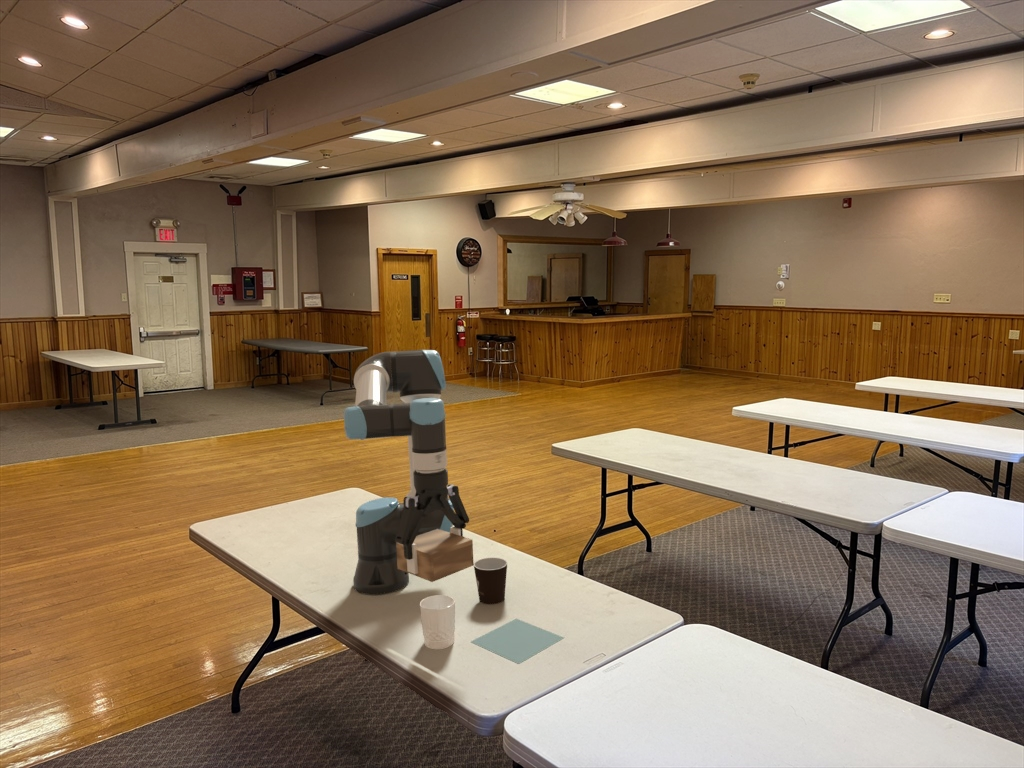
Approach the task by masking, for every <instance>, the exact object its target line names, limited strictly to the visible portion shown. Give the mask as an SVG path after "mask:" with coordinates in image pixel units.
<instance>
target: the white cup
mask: <svg viewBox="0 0 1024 768" xmlns="http://www.w3.org/2000/svg"><path fill="white" fill-rule="evenodd" d="M419 610H420V611H419V612H420V620H421V621H420V622H421V628H422V629H421V630H422V637H423V643H424V646H425V647H426V648H428V649H432V650H442V649H447V648H450V647H451V646H452V645H453V644H454V643H455V631H456V630H455V629H456V600H455V599H454V598H453V597H452V596H449V595H446V594H445V595H444V594H437V595H430V596H427V597H425V598H423V599H421V601H420V602H419Z"/></svg>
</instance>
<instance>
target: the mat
mask: <svg viewBox="0 0 1024 768" xmlns="http://www.w3.org/2000/svg"><path fill="white" fill-rule="evenodd" d="M563 639H565V637H564V636H561V635H559V634H556V633H553V632H551V631H548V630H546V629H543V628H541V627H538V626H536V625H533V624H531V623H528V622H525V621H523V620H521V619H519V618H515V619H512V620H510V621H508V622H507V623H505V624H503V625H501V626H499V627H497V628H494V629H493V630H491V631H489V632H487V633H485V634H483V635H482V636H480V637H477V638H475V639H473V640H471V641H470V643H471V644H474V645H476V646H478V647H480V648H483V649H485V650H487V651H489V652H492V653H494V654H496V655H498V656H500V657H503V658H504V659H506V660H509V661H511V662H514V663H516V664H517V665H519V664H522V663H524V662H525V661H527V660H529V659H531V658H532V657H534V656H535V655H537V654H538V653H541V652H542V651H544V650H546V649H548V648H549V647H551V646H553V645H554V644H556V643H558V642H560V641H562V640H563Z"/></svg>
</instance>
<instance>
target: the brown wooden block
mask: <svg viewBox="0 0 1024 768" xmlns="http://www.w3.org/2000/svg"><path fill="white" fill-rule="evenodd" d="M413 543H414V544H416V546H417V565H418V573H417V574H413V573H411V572H408V571H407V559H405V557H404V546H403V545H402V544H400V543H396V550H397V567H398V569H400V570H402V571H405V572H407V573H409V575H410V574H411V575H413V576H415V577H417V578H421V579H422V580H425V581H428V582H430V583H434V582H436V581H439V580H441V579H444V578H446V577H448V576H450V575H453V574H456V573H459V572H460V571H464V570H466V569H468V568H471V567H474V563H475V561H474V544H473V543H474V541H473V538H468V537H466V536H464V535H463V536H459V535H456V534H453V533H450V532H446V531H443V530H440V529H436V530H433V531H430V532H427V533H424V534H421V535H418V536H416V538H415V540H414V542H413Z"/></svg>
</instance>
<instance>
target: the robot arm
mask: <svg viewBox="0 0 1024 768" xmlns="http://www.w3.org/2000/svg"><path fill="white" fill-rule="evenodd" d="M440 355H441V354H440V353H439V352H438V351H437V350H435V349H415V350H411V349H410V350H398V351H396V350H395V351H384V352H379V353H375V354H374V355H372V356H370V357H368V358H367V359H365V360H364V361H363V362H361V363H360V364H359V366H358V367H357V368H356V370H355V372H354V376H353V386H354V388H355V390H356V391H355V392H356V393H355V401H354V402H355V403H354V405H353V406H348V407H346V408H345V409H344V411H343V421H344V422H343V423H344V432H345V437H346V438H347V439H348V440H362V441H364V440H369V439H370V440H371V439H383V438H395V437H396V438H398V437H407V442H408V443H407V445H408V461H409V464H408V465H409V479H410V480H409V481H410V490H409V492H408V493H407V494H406V495H405V496H404V497H403V502H402V503H401V502H400V501H399V500H398V498H396V497H393V496H392V497H389V496H388V497H387V496H386V497H380V498H375V499H372V500H371V499H370V500H369V501H366V502H364V503H363V504H361V505H359V507H358V508H357V509H356V512H355V524H354V525H355V527H356V538H357V539H356V542H357V555H358V557H357V558H358V560H357V563H356V567H355V572H354V575H353V580H352V583H353V589H354V590H355V592H358V593H360V594H363V595H375V596H376V595H385V594H391V593H394V592H395V593H396V592H397V591H400V590H402V589H404V588H405V587H406V586H407V585H408V584H409V582H410V576H409V575H410V573H407V572H405V571H402V570H400V569H398V567H397V550H396V543H400V544H402V545H403V546H404V557H405V559H407V571H408V572H411V573H413V574H417V573H418V565H417V546H416V544H414V543H413V542H414V540H415V538H416V536H418V535H421V534H424V533H427V532H430V531H433V530H436V529H440V530H443V531H446V532H450V533H453V534H456V535H459V536H463V537H464V533H463V530H464V529H466V527H467V524H468V523H470V518H469V515H468V513H467V511H466V508H465V506H464V504H463V500H462V499H461V497H460V491H459V490H460V489H459V486H458V485H454V484H449V476H448V475H449V473H448V469H447V468H446V467H447V466H448V455H447V443H446V441H447V440H446V439H447V438H446V437H447V436H446V435H447V434H446V411H445V403H444V400H442V399H441V397H442V391H444V390H446V389H447V386H446V385H447V383H446V376H445V371H444V365H443V362H442V358H441V356H440ZM387 393H388V394H389V393H390V394H392V393H399V399H400V400H401V401H402V402H403V403H394V404H393V403H391V404H387Z"/></svg>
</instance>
